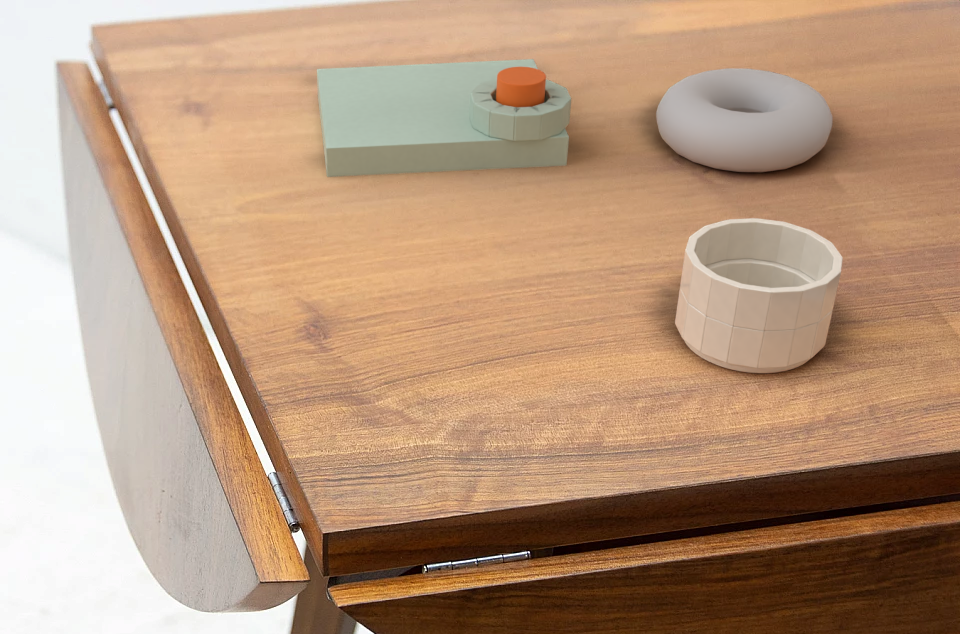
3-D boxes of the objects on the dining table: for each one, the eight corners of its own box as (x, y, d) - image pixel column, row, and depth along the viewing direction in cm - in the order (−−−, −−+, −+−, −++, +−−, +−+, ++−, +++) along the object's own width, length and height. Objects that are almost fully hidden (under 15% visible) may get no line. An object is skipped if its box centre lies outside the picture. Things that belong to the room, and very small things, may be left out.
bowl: (796, 296, 68) (812, 214, 66) (844, 373, 63) (865, 287, 60) (659, 303, 68) (670, 221, 66) (696, 381, 63) (709, 295, 60)
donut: (618, 146, 83) (758, 199, 77) (623, 91, 81) (766, 140, 75) (722, 100, 88) (862, 146, 82) (729, 47, 86) (873, 90, 80)
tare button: (539, 90, 82) (541, 65, 81) (548, 109, 80) (550, 83, 79) (492, 92, 82) (493, 67, 81) (499, 111, 80) (501, 86, 79)
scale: (537, 86, 91) (540, 34, 88) (573, 169, 81) (578, 112, 78) (317, 96, 90) (316, 44, 88) (327, 180, 80) (325, 124, 78)
